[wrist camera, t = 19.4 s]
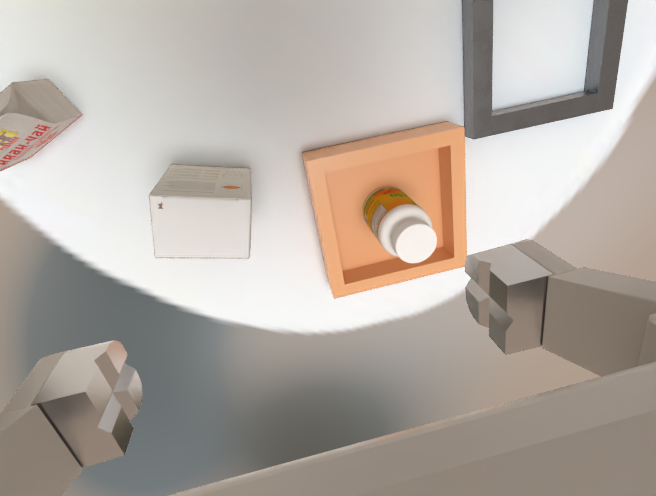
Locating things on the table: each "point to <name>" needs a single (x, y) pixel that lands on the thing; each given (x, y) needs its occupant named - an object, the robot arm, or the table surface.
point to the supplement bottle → (400, 224)
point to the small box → (202, 212)
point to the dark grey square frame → (593, 99)
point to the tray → (381, 171)
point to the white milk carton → (31, 119)
